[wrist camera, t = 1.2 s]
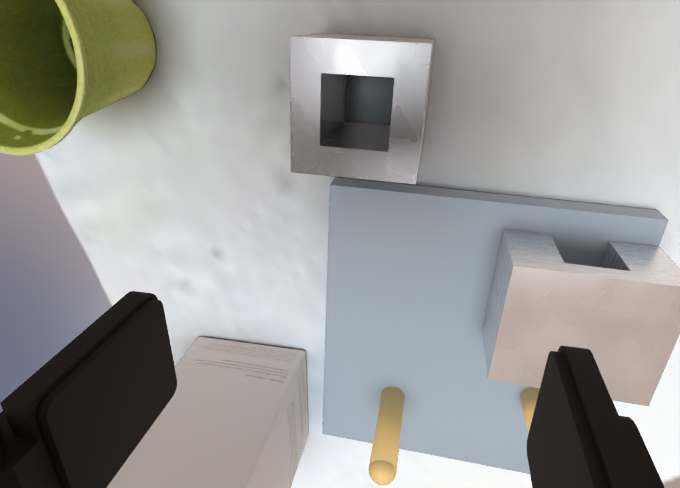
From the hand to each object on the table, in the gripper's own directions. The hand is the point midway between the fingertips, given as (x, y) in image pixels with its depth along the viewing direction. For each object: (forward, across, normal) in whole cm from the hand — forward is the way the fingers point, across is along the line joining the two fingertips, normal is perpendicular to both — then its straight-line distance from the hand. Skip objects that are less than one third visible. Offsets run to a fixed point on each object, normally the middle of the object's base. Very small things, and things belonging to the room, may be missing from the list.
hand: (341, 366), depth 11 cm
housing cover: (+17, -10, +7) cm, 20 cm away
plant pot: (+19, +18, -6) cm, 27 cm away
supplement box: (+18, +11, +19) cm, 29 cm away
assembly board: (+18, -4, +12) cm, 22 cm away
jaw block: (+18, +2, -4) cm, 19 cm away
